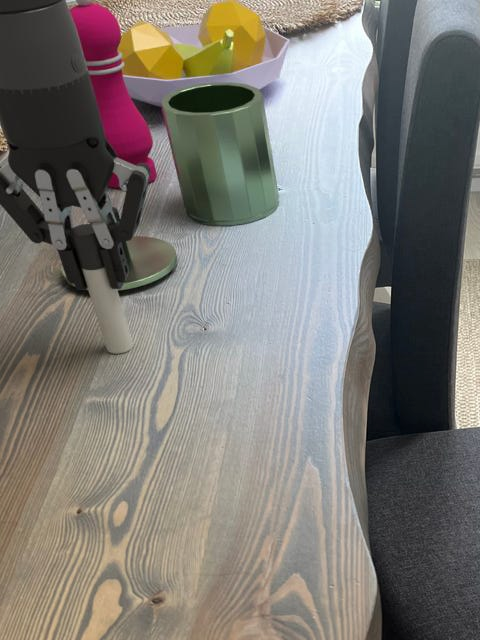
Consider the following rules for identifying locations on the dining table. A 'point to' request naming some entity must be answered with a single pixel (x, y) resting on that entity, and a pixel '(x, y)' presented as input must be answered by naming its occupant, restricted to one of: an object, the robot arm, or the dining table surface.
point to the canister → (222, 152)
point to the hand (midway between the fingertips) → (101, 284)
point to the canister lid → (144, 259)
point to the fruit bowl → (201, 53)
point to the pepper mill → (112, 86)
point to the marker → (101, 290)
